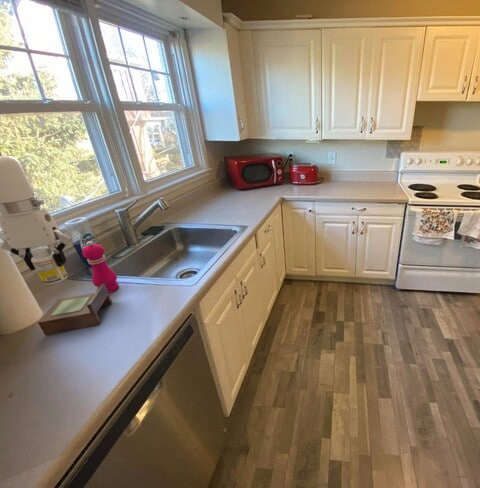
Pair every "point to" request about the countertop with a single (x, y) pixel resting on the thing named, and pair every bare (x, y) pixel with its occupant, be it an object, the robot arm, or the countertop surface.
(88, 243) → the pepper mill
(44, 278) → the supplement bottle
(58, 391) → the countertop surface
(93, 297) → the brown wooden box
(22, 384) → the countertop surface
